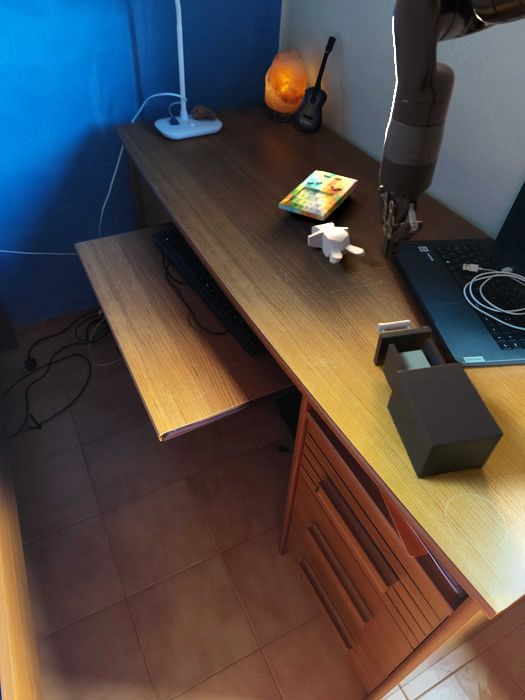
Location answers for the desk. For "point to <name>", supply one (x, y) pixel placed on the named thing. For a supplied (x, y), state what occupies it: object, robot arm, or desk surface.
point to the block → (414, 360)
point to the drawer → (403, 347)
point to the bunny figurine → (333, 241)
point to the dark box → (442, 420)
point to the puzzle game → (319, 195)
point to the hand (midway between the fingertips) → (388, 255)
